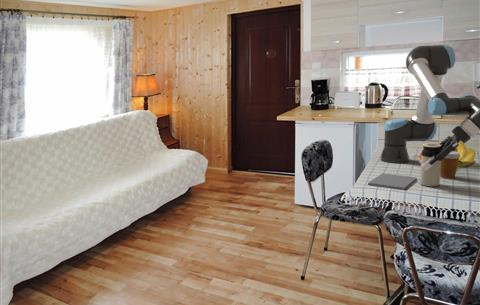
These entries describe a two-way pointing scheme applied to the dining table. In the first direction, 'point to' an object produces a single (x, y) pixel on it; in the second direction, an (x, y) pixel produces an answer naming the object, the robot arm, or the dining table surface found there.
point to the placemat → (392, 181)
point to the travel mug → (433, 173)
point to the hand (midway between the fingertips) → (422, 166)
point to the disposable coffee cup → (449, 165)
